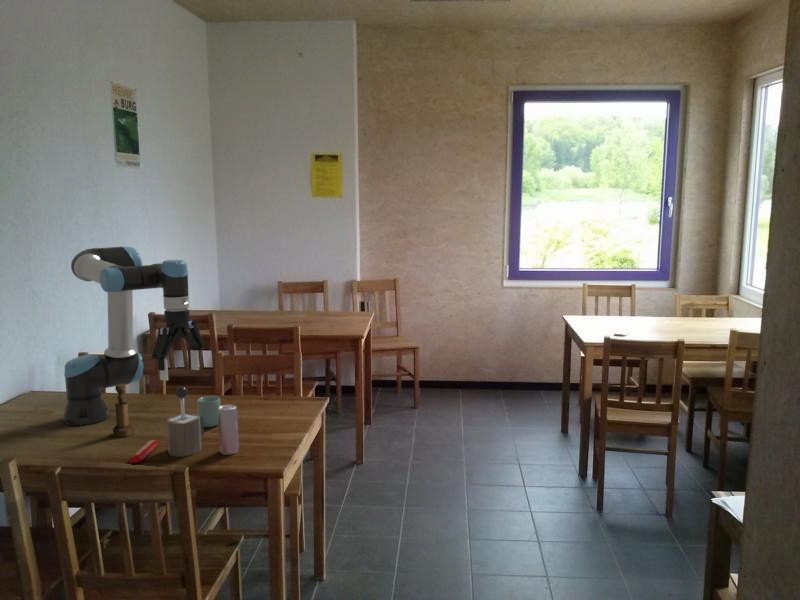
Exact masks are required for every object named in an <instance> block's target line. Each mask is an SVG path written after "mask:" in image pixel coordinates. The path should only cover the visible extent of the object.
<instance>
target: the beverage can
mask: <svg viewBox="0 0 800 600" xmlns="http://www.w3.org/2000/svg"><path fill="white" fill-rule="evenodd" d="M238 419H239V418H238V408H237V405H235V404H230V403H229V404H223V405H220V407H219V408H218V424H217V425H218V440H219V452H220V453H221V454H222V455H225V456H229V455H234V454H236V453H238V451H239V449H240V445H239V444H240V443H239V423H238V422H239V420H238Z"/></svg>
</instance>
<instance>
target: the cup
mask: <svg viewBox="0 0 800 600" xmlns="http://www.w3.org/2000/svg"><path fill="white" fill-rule="evenodd" d="M196 403H197V404H196V405H197V406H196V407H197V415H199V416H203V428H213V427H216V426H218V425H219V424H218V408H219V407H220V406H221V398H220V397H219V396H216V395H207V396H202V397H199V398H197V402H196Z"/></svg>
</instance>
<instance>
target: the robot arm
mask: <svg viewBox="0 0 800 600" xmlns="http://www.w3.org/2000/svg"><path fill="white" fill-rule="evenodd" d="M70 269H71V272H72V274H73V275H74V276H75V277H76V278H77V279H79V280H82V281H84V282H95V283H98V284H100V287H101V289H102V290H103V292H105V293H107V341H108V343H107V345H108V346H107V348H106V349H105V350H104V352H103V357H99V356H98V355H97V354H89V355H81V356H78V357H75V358H71V359H70V360H68V361H67V362H66V363H65V365H64V373H63V375H64V378H65V379H64V380H65V392H66V393H65V394H66V404H65V408H64V412H63V416H62V417H63V418H62V419H63V423H64V422H65V423H68V424H74V425H73V426H83V424H86V425H91V424H95V423H99V422H101V421H104V420H106V419H107V418H108V417H109V410H108V408H107V406H106V403H105V401H104V398H103V396H102V389H108V388H115V387H116V385H118V384H123V385H124V386H127V385H130V384H132V383H133V384H134V383H136V382H138V381H139V380H140V379H141V377H142V376H143V371H144V362H143V357H142V355H141V353H139V352H138V350H137V348H135V347H134V346H133V345H134V344H133V343H134V341H133V339H134V338H133V337H134V336H133V335H134V331H133V327H134V326H133V325H134V324H133V321H134V319H133V317H134V316H133V315H134V314H133V306H134V305H133V300H134V299H133V294H134V293H133V292H134V291H136V290H138V291H139V290H152V289H162V292H163V296H162V297H163V309H164V312H163V314H164V322H165V323H166V326H165V327H158V335H157V337H156V341H155V345H154V348H153V352H152V354H151V360H152V359H153V360H156V361H157V370H158V371H159V380H160V381H169V369H168V365H169V364H168V359H166V358H167V357H168V354H169V352H170V350H171V347H172V346H173V344H174V342H176V341H177V340H179V339H184V341H186V343H187V344H188V345H189V346H190V347H191V349H190V351H189V353H190V367H191V368H190V369H191V370H193V371H194V370H195V371H199V370H200V361H199V360H200V351H202V350H203V348H204V346H205V343H204V341H203V339H202V336H201V334H200V332H199V330H198V328H197V322H196V320H191V317H190V314H191V313H190V309H189V308H190V299H189V276H188V275H189V271H188V270H189V269H188V263H187V262H186V261H185V259H184V260H183V259H170V260H169V259H168V260H163V261H162V262H160V263H151V264H147V265H143V262H142V258H141V255H140V253H139V252H138V250H137V249H136V248H135V247H133V246H112V247H109V246H108V247H93V248H87V249H85V250H81V251H80V252H78V253H76V254H75V256H74V257H73V259H72V260H71V264H70ZM65 423H64V424H65ZM68 424H67V425H68Z"/></svg>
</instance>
